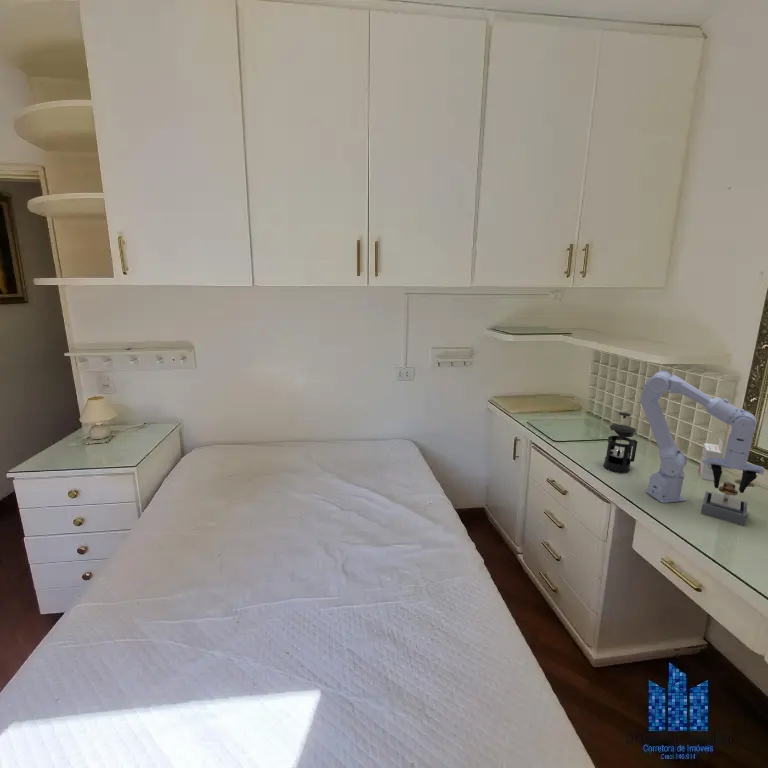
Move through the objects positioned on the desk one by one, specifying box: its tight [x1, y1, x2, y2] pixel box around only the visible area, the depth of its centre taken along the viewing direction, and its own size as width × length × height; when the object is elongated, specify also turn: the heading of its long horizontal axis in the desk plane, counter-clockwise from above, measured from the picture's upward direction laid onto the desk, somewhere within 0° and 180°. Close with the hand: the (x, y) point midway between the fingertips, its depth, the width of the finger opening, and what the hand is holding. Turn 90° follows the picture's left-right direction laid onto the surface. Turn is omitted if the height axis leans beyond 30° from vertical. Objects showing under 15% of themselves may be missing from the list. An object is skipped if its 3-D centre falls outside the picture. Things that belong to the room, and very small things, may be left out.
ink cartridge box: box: [698, 438, 724, 481], centre depth 166 cm, size 9×5×15 cm, turn 151°
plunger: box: [710, 481, 742, 511], centre depth 140 cm, size 8×8×6 cm
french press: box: [603, 411, 638, 474], centre depth 170 cm, size 12×9×23 cm
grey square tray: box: [700, 490, 748, 527], centre depth 141 cm, size 11×11×4 cm
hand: (728, 489), depth 140 cm, fingers open, 6 cm apart
